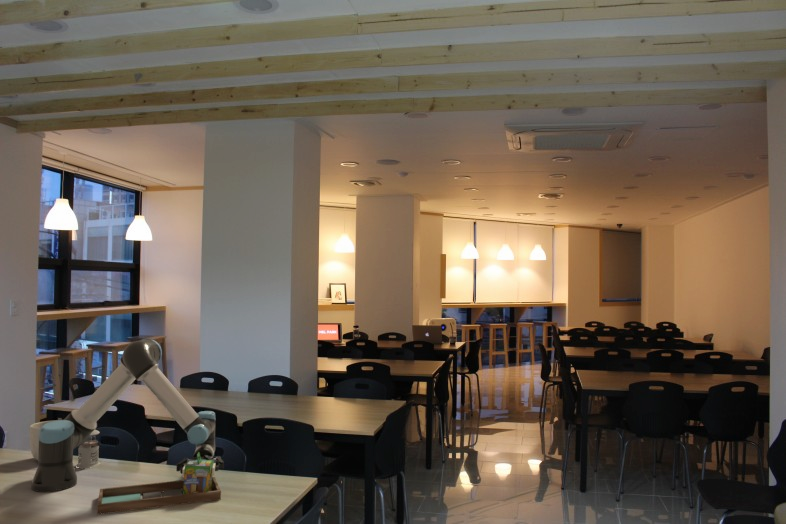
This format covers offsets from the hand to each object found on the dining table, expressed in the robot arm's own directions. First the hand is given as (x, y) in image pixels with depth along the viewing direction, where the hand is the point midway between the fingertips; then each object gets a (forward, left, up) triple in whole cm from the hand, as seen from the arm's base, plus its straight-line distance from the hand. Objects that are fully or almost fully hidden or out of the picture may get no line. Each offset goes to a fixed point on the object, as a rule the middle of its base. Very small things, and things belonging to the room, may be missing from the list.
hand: (198, 472), depth 218 cm
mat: (-4, -25, -9) cm, 27 cm away
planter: (-76, -55, -9) cm, 94 cm away
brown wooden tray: (-4, -13, -9) cm, 16 cm away
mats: (-4, -13, -9) cm, 16 cm away
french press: (-60, -39, -9) cm, 72 cm away
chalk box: (-3, 0, -9) cm, 9 cm away
